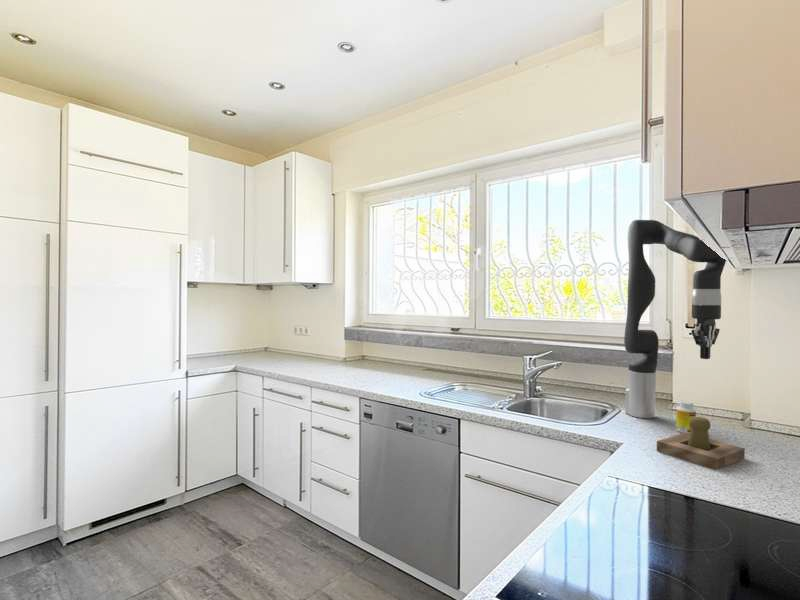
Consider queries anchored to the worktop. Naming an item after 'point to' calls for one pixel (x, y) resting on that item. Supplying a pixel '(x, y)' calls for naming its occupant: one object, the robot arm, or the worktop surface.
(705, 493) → the worktop surface
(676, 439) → the hole plate
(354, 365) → the worktop surface
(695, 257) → the robot arm
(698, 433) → the olive tapered peg
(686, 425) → the supplement bottle
